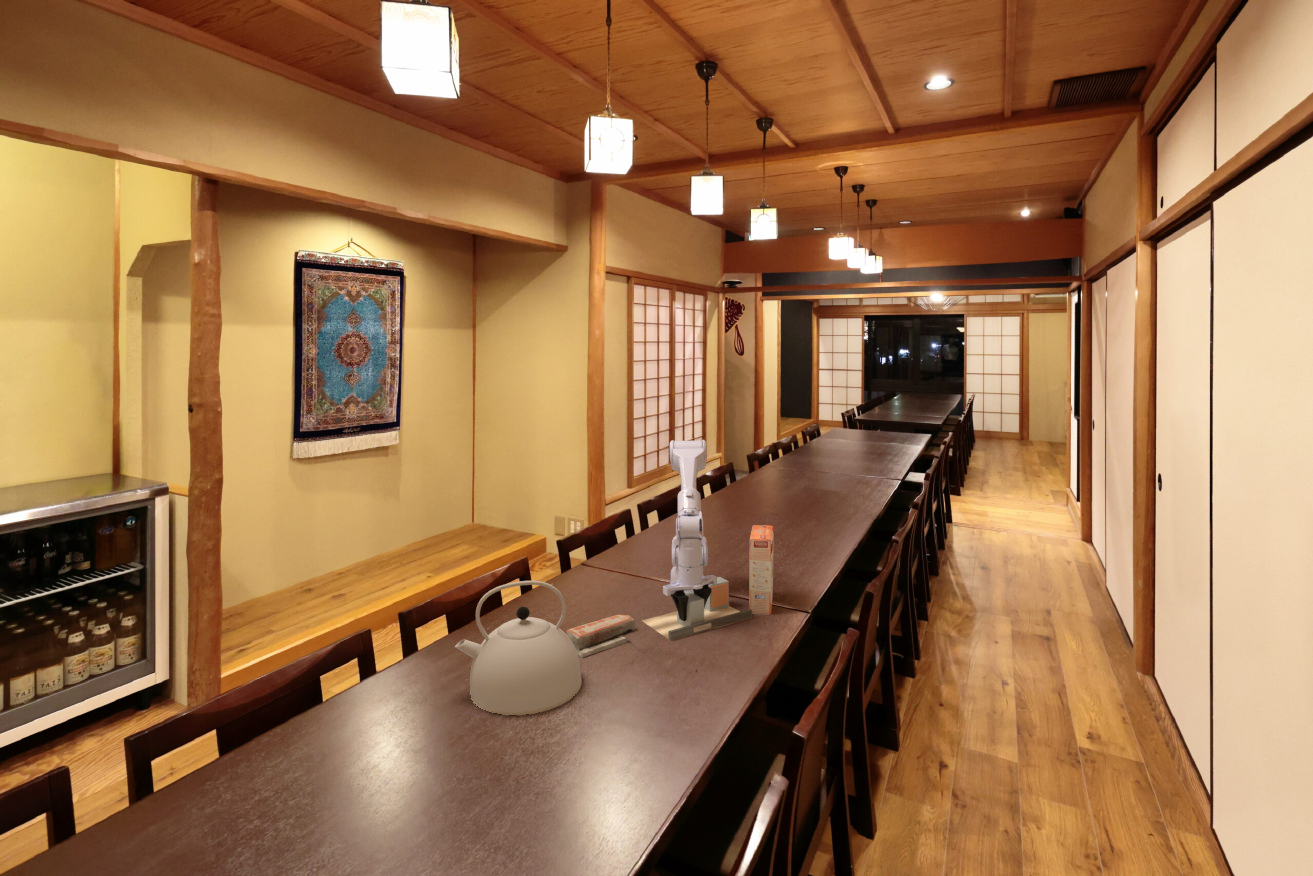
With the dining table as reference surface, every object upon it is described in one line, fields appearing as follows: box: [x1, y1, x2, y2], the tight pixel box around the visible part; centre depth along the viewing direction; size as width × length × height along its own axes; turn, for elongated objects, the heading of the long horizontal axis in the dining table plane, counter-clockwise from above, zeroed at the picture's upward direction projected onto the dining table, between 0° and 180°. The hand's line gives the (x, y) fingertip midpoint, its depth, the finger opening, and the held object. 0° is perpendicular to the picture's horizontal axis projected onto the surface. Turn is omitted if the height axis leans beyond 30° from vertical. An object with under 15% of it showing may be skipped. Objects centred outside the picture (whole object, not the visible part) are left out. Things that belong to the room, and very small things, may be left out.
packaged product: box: [565, 614, 636, 659], centre depth 160 cm, size 18×5×10 cm
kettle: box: [454, 580, 583, 716], centre depth 137 cm, size 25×23×23 cm
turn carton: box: [676, 592, 704, 627], centre depth 165 cm, size 4×6×7 cm
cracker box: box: [748, 524, 775, 616], centre depth 176 cm, size 14×6×21 cm, turn 168°
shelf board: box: [641, 605, 753, 641], centre depth 168 cm, size 14×24×3 cm, turn 121°
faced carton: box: [704, 576, 730, 612], centre depth 175 cm, size 4×6×7 cm
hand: (690, 617), depth 165 cm, fingers closed on turn carton, 4 cm apart
